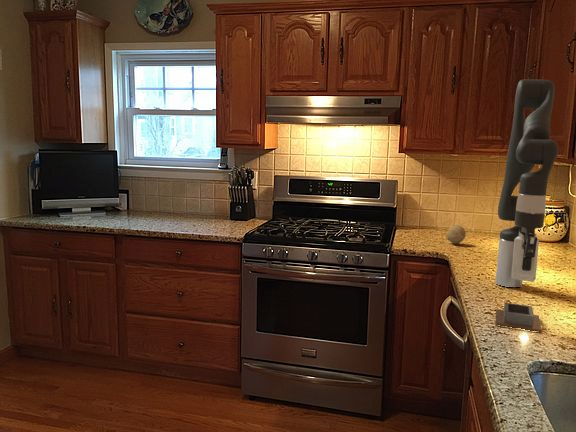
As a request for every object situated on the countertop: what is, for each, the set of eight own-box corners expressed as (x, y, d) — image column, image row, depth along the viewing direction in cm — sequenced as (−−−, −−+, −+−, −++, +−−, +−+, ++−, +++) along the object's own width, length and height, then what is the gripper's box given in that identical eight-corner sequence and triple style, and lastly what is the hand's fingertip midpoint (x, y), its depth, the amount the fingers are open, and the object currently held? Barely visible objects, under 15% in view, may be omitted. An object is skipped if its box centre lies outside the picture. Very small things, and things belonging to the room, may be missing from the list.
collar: (495, 312, 160) (496, 299, 160) (538, 318, 156) (539, 305, 155) (495, 325, 148) (496, 312, 148) (541, 333, 144) (542, 319, 143)
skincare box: (535, 279, 150) (540, 238, 148) (533, 282, 146) (537, 241, 145) (513, 275, 154) (517, 235, 152) (510, 278, 150) (514, 237, 148)
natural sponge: (466, 247, 256) (468, 227, 254) (447, 245, 257) (449, 226, 256) (463, 243, 265) (464, 224, 263) (445, 242, 266) (446, 223, 265)
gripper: (512, 206, 155) (506, 260, 157) (520, 212, 141) (514, 272, 144) (539, 207, 153) (533, 263, 156) (550, 214, 139) (543, 275, 142)
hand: (524, 267), depth 150 cm, fingers closed on skincare box, 5 cm apart
